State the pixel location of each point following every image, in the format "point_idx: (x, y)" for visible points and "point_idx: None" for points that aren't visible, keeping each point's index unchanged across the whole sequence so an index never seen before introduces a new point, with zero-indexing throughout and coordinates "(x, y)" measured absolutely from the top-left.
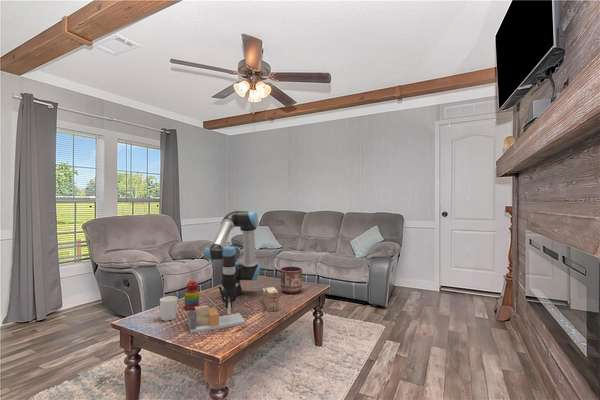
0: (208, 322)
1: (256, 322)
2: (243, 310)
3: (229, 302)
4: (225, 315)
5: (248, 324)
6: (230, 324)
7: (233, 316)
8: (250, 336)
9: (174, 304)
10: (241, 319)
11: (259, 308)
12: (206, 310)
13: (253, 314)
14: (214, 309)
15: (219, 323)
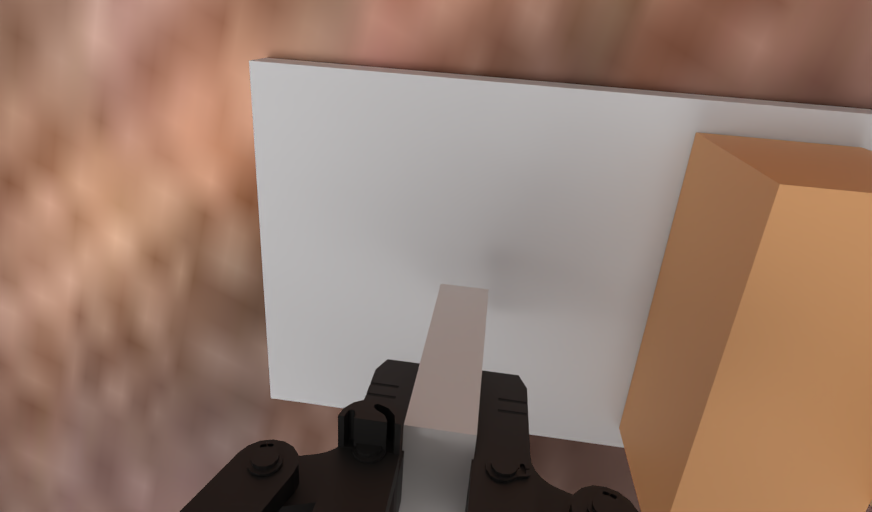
0: None
1: (96, 25)
2: (207, 483)
3: (425, 465)
4: None
5: (226, 10)
6: (506, 82)
7: (376, 335)
8: None
9: None
10: (293, 169)
11: (18, 443)
12: None
13: (106, 320)
14: (724, 483)
15: (662, 190)
